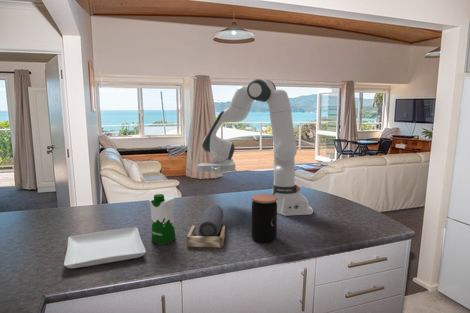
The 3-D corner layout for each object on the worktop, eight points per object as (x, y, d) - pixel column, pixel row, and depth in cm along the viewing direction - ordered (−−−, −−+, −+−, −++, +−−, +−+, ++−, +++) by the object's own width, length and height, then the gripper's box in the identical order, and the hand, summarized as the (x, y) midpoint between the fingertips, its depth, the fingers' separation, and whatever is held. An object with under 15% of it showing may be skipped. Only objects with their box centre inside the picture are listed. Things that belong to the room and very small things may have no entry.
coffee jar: (275, 244, 132) (276, 201, 129) (249, 242, 134) (249, 200, 131) (277, 234, 142) (278, 194, 140) (253, 232, 145) (253, 193, 142)
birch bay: (225, 234, 142) (225, 226, 142) (222, 247, 130) (222, 237, 129) (192, 234, 143) (192, 225, 142) (186, 246, 130) (186, 237, 130)
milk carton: (148, 242, 134) (146, 195, 131) (162, 234, 142) (160, 190, 139) (165, 246, 131) (164, 198, 127) (178, 238, 139) (177, 192, 136)
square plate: (64, 275, 109) (63, 265, 108) (69, 244, 134) (68, 235, 133) (146, 260, 120) (146, 250, 119) (137, 233, 144) (136, 225, 144)
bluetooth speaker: (220, 243, 133) (219, 220, 132) (197, 243, 134) (197, 220, 132) (224, 223, 156) (224, 203, 154) (205, 223, 156) (204, 203, 155)
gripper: (198, 159, 178) (194, 164, 165) (236, 159, 177) (234, 163, 164) (199, 171, 179) (194, 176, 166) (236, 170, 178) (235, 176, 165)
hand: (215, 170), depth 165 cm, fingers closed
